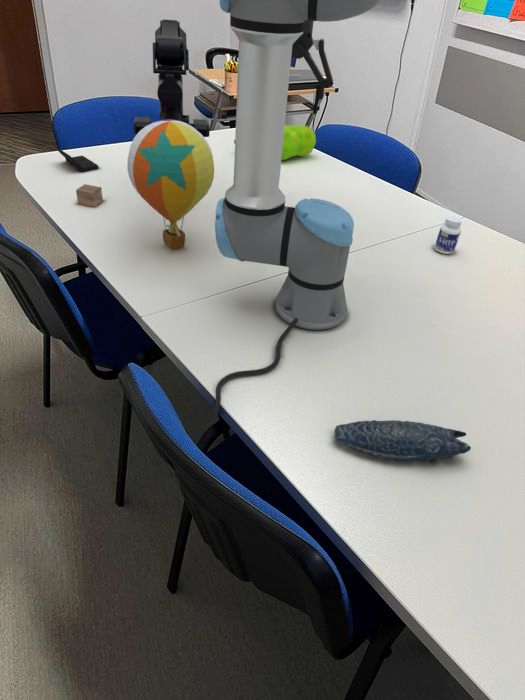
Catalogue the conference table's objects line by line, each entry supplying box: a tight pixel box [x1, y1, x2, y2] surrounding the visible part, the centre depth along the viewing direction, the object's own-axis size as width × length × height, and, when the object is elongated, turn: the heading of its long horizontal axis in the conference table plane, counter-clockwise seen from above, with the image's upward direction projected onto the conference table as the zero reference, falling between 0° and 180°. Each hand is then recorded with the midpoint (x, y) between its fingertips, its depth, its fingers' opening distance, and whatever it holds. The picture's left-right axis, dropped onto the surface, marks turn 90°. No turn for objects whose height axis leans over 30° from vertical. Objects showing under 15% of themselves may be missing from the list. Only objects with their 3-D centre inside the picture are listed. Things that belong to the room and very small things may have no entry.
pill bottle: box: [434, 215, 463, 255], centre depth 137 cm, size 5×5×9 cm
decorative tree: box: [233, 124, 317, 161], centre depth 187 cm, size 18×10×30 cm
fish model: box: [333, 419, 472, 462], centre depth 82 cm, size 7×21×5 cm, turn 84°
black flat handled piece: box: [53, 145, 99, 172], centre depth 166 cm, size 12×7×10 cm
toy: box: [126, 119, 215, 251], centre depth 121 cm, size 20×20×30 cm
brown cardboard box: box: [75, 183, 104, 208], centre depth 146 cm, size 5×5×4 cm
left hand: (173, 160), depth 137 cm, fingers open, 9 cm apart
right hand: (288, 109), depth 135 cm, fingers open, 13 cm apart
